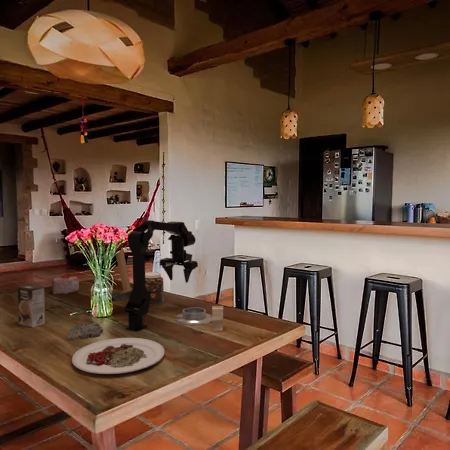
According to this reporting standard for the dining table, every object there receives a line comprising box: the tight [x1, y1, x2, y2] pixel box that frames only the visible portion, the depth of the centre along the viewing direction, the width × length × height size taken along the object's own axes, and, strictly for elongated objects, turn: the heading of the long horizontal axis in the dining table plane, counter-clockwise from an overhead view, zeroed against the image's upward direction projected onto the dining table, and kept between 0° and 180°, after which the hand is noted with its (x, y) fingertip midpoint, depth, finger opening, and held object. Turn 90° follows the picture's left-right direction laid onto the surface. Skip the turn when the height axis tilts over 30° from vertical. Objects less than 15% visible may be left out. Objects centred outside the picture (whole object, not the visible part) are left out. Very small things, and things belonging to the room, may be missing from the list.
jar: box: [145, 271, 165, 307], centre depth 206 cm, size 12×12×15 cm
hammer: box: [111, 246, 133, 301], centre depth 214 cm, size 20×5×30 cm, turn 121°
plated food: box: [71, 337, 165, 375], centre depth 137 cm, size 30×30×3 cm
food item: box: [51, 274, 80, 295], centre depth 227 cm, size 14×8×10 cm, turn 120°
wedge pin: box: [211, 305, 224, 332], centre depth 167 cm, size 4×4×9 cm
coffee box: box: [17, 283, 46, 328], centre depth 171 cm, size 9×6×16 cm
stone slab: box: [65, 320, 104, 341], centre depth 162 cm, size 13×17×3 cm
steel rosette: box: [175, 306, 212, 326], centre depth 179 cm, size 16×16×4 cm
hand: (179, 281), depth 190 cm, fingers open, 9 cm apart
